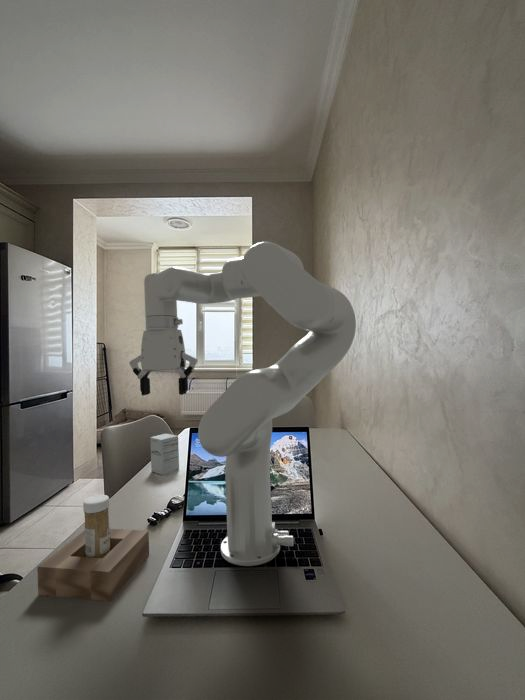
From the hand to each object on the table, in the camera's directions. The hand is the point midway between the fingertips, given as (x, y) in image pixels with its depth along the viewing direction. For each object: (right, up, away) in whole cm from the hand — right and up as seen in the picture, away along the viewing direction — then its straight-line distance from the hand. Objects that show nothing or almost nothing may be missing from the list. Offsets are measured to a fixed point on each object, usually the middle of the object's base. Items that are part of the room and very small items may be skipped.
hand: (164, 394), depth 87 cm
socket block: (-8, -33, -18) cm, 38 cm away
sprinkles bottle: (-8, -32, -18) cm, 37 cm away
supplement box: (-11, -33, +41) cm, 54 cm away
